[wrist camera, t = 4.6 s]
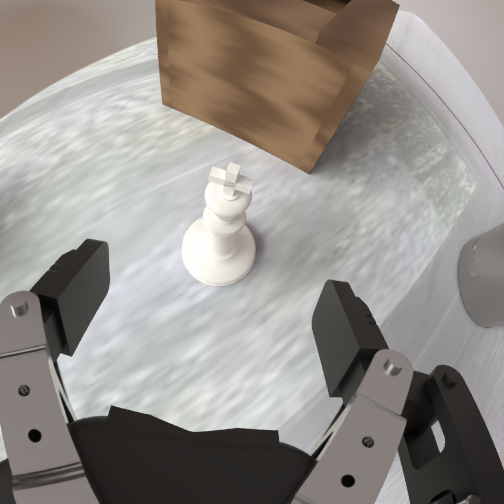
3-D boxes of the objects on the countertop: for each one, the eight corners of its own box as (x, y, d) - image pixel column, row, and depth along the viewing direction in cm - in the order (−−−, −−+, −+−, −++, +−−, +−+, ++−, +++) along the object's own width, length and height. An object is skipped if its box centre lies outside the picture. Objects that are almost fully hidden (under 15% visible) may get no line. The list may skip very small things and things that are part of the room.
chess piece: (242, 296, 19) (280, 251, 10) (171, 272, 19) (143, 205, 10) (263, 229, 21) (309, 142, 12) (196, 207, 21) (196, 106, 11)
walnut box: (352, 87, 28) (399, 5, 16) (308, 173, 23) (378, 59, 12) (239, 37, 28) (256, -50, 16) (162, 104, 23) (154, -16, 12)
